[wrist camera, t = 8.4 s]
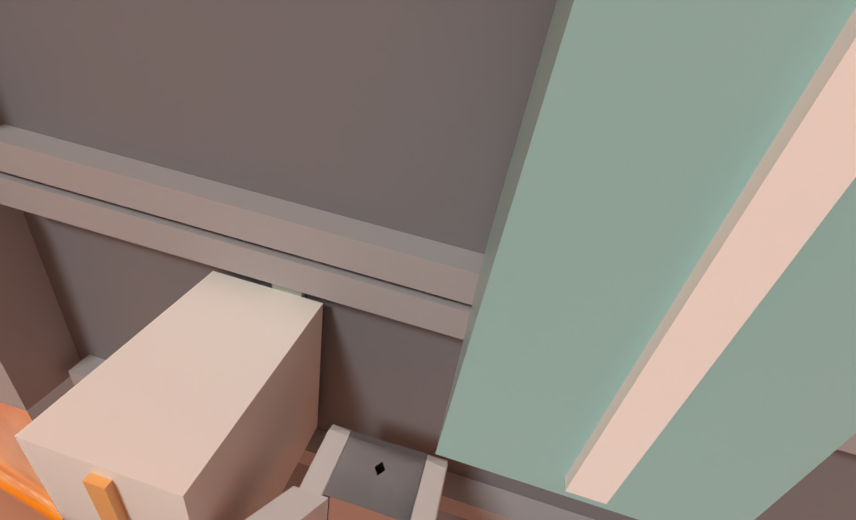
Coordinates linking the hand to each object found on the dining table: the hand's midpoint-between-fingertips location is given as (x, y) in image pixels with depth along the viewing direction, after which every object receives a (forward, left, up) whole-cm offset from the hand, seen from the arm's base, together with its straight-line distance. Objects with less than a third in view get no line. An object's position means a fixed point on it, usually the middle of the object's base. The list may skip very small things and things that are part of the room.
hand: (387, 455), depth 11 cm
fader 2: (-2, -8, -2) cm, 9 cm away
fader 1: (+4, 0, -2) cm, 4 cm away
